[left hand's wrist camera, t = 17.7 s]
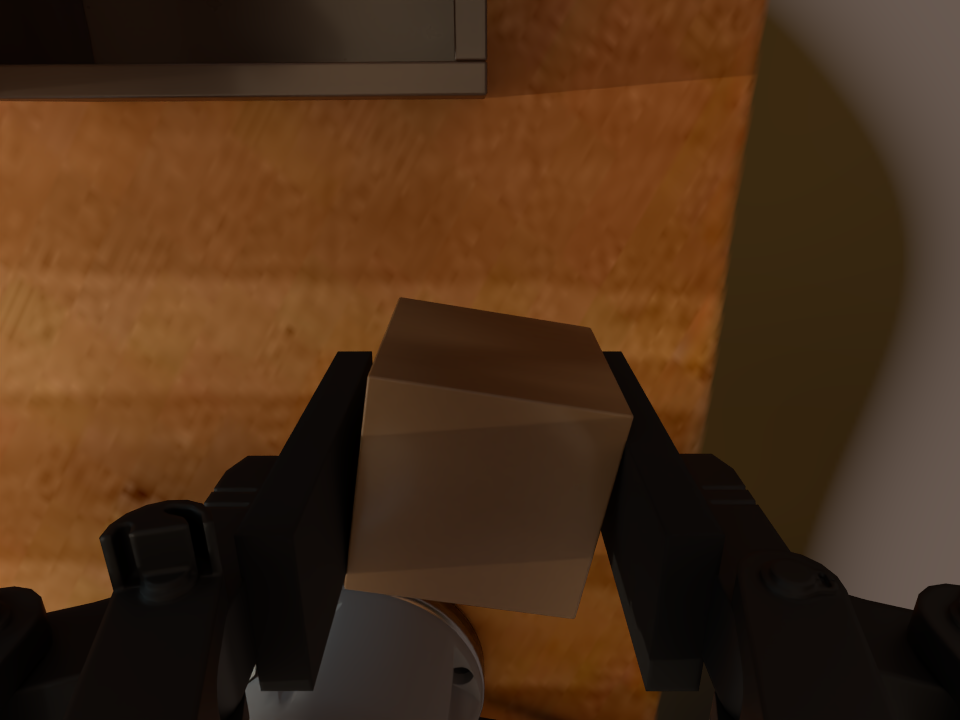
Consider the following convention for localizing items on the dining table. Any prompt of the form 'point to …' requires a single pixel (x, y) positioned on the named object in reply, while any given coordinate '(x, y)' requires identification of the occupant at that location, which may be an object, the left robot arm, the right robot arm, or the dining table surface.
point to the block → (484, 460)
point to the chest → (242, 50)
